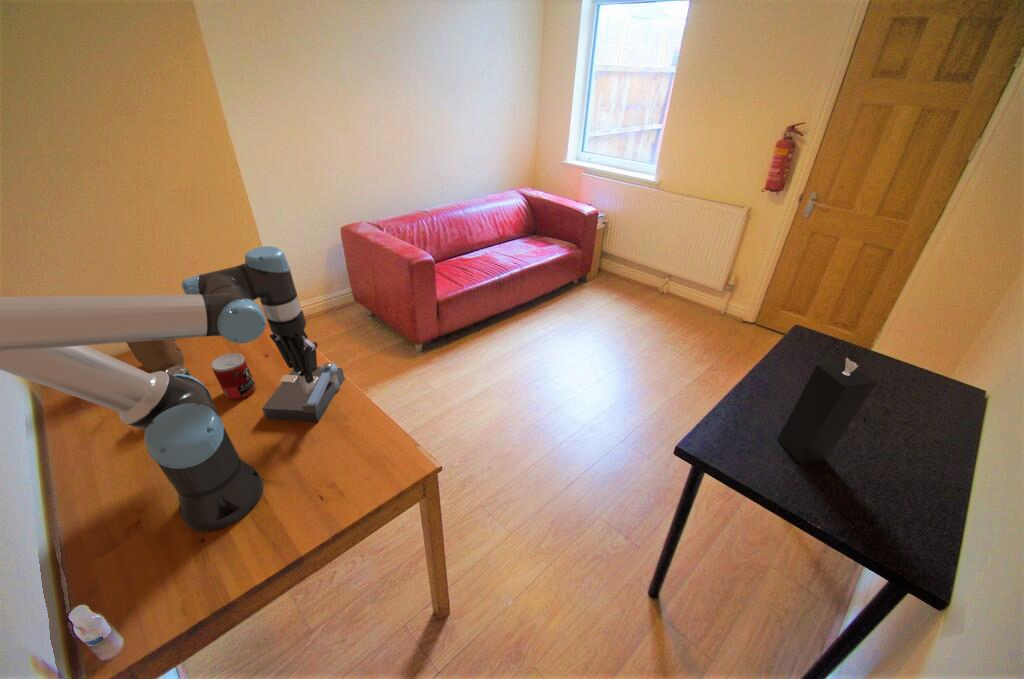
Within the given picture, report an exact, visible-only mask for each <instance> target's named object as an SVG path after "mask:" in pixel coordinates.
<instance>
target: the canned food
mask: <svg viewBox="0 0 1024 679" xmlns="http://www.w3.org/2000/svg"><path fill="white" fill-rule="evenodd" d="M210 366H211V370H212V371H213V373H214V376H215V378H216V380H217V381H218V384H219V386H220V387H221V390H222V391H223V394H224V396H225V397H226V398H228V399H229V400H232V401H239V400H243V399H247V398H248V397H250V396H252V395H253V394H254V393H255V391H256V389H257V386H256V382H255V380H254V378H253V375H252V373H251V371H250V368H249V366H248V363H247V362H246V359H245V357H244V355H243V354H241V353H236V352H233V353H225V354H223V355H221V356H218V357H217V358H215V359H213V361H212V362H211V364H210Z"/></svg>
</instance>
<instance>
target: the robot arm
mask: <svg viewBox="0 0 1024 679" xmlns="http://www.w3.org/2000/svg"><path fill="white" fill-rule="evenodd" d="M293 279H294V278H293V276H292V271H291V267H290V266H289V263H288V260H287V257H286V255H285V252H284V251H283V250H282V249H281V248H279V247H278V246H277V247H276V246H272V245H271V246H268V245H267V246H260V247H259V246H258V247H255V248H253V249H251V250H248V251H247V252H246V253H245V254H244V263H241V264H240V265H236V266H232V267H227V268H224V269H218V270H214V271H211V272H206V273H199V274H197V275H195V276H191V277H188V278H185V279H183V280H182V282H181V284H180V285H181V288H182V290H183V292H184V294H145V295H144V294H143V295H142V294H137V295H136V294H135V295H133V294H131V295H121V294H120V295H67V296H66V295H64V296H63V295H58V296H57V295H54V296H51V295H50V296H49V295H48V296H47V295H46V296H45V295H43V296H0V371H2V372H6V373H9V374H11V375H14V376H17V377H20V378H22V379H26V380H27V381H31V382H34V383H36V384H38V385H39V384H40V385H42V386H45V387H46V388H47V387H48V388H50V389H53V390H57V391H59V392H62V393H65V394H67V395H69V396H73V397H77V398H79V399H81V400H84V401H86V402H90V403H93V404H95V405H98V406H101V407H104V408H105V409H106V408H107V409H109V410H112V411H116V412H118V415H119V417H120V418H119V419H120V421H121V422H122V423H123V424H126V425H129V426H132V427H135V428H137V429H140V430H142V431H143V430H144V436H143V437H144V444H145V447H146V450H147V453H148V455H149V457H150V458H152V459H153V461H154V462H155V463H156V464H157V465H158V467H159V468H160V469H161V471H162V472H163V474H164V475H165V477H166V478H167V480H168V481H169V483H171V486H172V487H173V488H174V489H175V491H176V493H177V494H178V495H177V496H178V497H177V499H178V502H179V507H178V510H179V516H180V518H181V519H182V520H183V523H185V525H186V527H189V529H191V530H192V531H196V532H213V531H217V530H220V529H223V528H227V527H228V526H230V525H233V524H234V523H236V522H239V521H240V520H241V519H242V518H244V517H245V516H246V515H247V514H249V513H250V512H251V511H252V510H253V509H254V508H255V506H256V505H257V504H258V502H259V500H260V499H261V497H262V495H263V491H264V482H263V479H262V477H261V475H260V473H259V472H258V471H257V470H256V469H255V468H254V467H253V466H251V465H250V464H249V463H247V462H245V461H244V460H242V459H241V458H240V455H239V453H238V451H237V450H236V448H235V446H234V444H233V442H232V440H231V438H230V436H229V434H228V433H227V430H226V428H225V426H224V423H223V421H222V419H221V416H220V415H219V412H218V410H217V408H216V406H215V403H214V401H213V399H212V395H211V393H210V391H209V390H208V388H207V387H206V385H204V384H203V383H202V381H200V379H197V378H196V377H195V376H194V377H193V376H192V375H191V376H189V375H184V374H175V375H171V374H169V373H166V372H165V370H162V371H152V372H150V373H149V372H146V370H145V371H144V370H142V369H140V368H138V367H137V366H133V365H131V364H129V363H126V362H125V361H122V360H120V359H118V358H115V357H113V356H111V355H109V354H106V353H104V352H101V351H99V350H98V349H95V348H93V347H91V346H95V345H110V344H123V343H124V344H125V343H126V342H138V341H152V340H165V339H175V340H177V339H189V338H203V337H223V338H225V339H226V340H227V341H230V342H232V343H235V344H247V343H251V342H252V341H254V340H257V339H258V338H259V337H260V336H262V334H263V333H264V331H265V329H266V326H267V325H266V324H267V323H268V326H269V329H270V331H271V332H272V333H271V334H270V335H269V338H270V339H271V340H272V342H273V343H274V344H275V346H276V348H277V349H278V351H279V353H280V354H281V356H282V358H283V360H284V362H285V365H287V368H288V369H292V370H293V369H294V371H295V372H297V375H298V378H299V380H300V382H301V385H302V388H303V391H304V393H306V394H309V393H310V392H311V391H312V390H314V388H315V384H314V378H313V375H312V373H313V372H314V371H315V370H317V367H318V363H317V362H318V361H317V347H318V344H319V343H318V342H317V341H313V342H311V341H310V340H309V338H308V337H309V336H308V334H307V333H306V332H305V329H306V326H307V321H306V318H305V315H304V312H303V310H302V305H301V302H300V300H299V296H298V293H297V290H296V286H295V282H294V280H293ZM257 299H259V300H260V304H261V306H260V304H258V303H257V302H256V301H255V300H257ZM262 310H263V311H262Z"/></svg>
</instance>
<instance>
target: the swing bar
mask: <svg viewBox="0 0 1024 679" xmlns="http://www.w3.org/2000/svg"><path fill="white" fill-rule="evenodd" d="M330 363H331V365H332V367H331V368H329V369H325V368H324V364H322V366H320V367H321V368H320V372H321V376H320V378H319V380H318V382H317V384H316V386H315V388H314V390H313V392H312V394H311V396H310V398H309V400H308V402H307V403H304V404H303V405H302V407H303V410H304V413H317V412H318V411H319V410H318V407H317V406H318V403H319V401H320V399H321V397H322V395H323V393H324V391H325V389H326V387H327V384H328V382H329V380H330V378H331V377H332V376H334V375H336V374H337V372H338V369H337V368H338V365H337V364H336V363H333V362H330Z"/></svg>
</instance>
